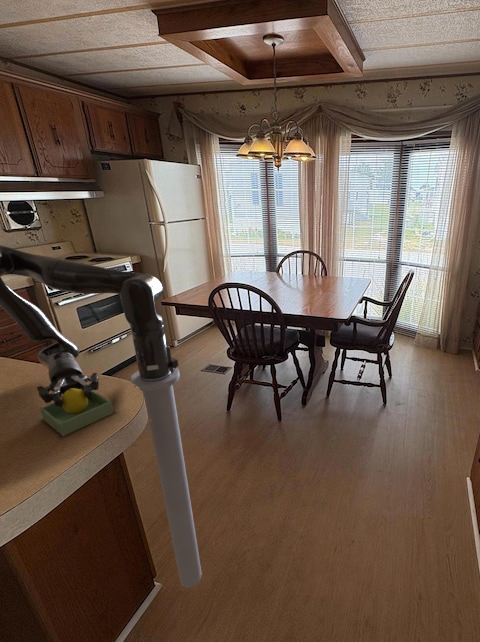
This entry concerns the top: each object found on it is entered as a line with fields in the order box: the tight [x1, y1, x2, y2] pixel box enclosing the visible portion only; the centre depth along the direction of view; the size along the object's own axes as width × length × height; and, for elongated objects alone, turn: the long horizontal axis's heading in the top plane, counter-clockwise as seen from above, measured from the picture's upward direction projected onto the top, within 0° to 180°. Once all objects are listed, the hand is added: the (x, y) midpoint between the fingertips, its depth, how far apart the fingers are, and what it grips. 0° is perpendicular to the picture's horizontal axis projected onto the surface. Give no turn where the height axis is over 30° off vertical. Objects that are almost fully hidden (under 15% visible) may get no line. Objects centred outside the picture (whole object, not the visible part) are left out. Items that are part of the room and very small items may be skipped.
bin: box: [39, 390, 115, 437], centre depth 91 cm, size 12×11×4 cm
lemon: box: [61, 388, 88, 415], centre depth 90 cm, size 6×6×8 cm
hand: (74, 399), depth 87 cm, fingers closed on lemon, 5 cm apart
